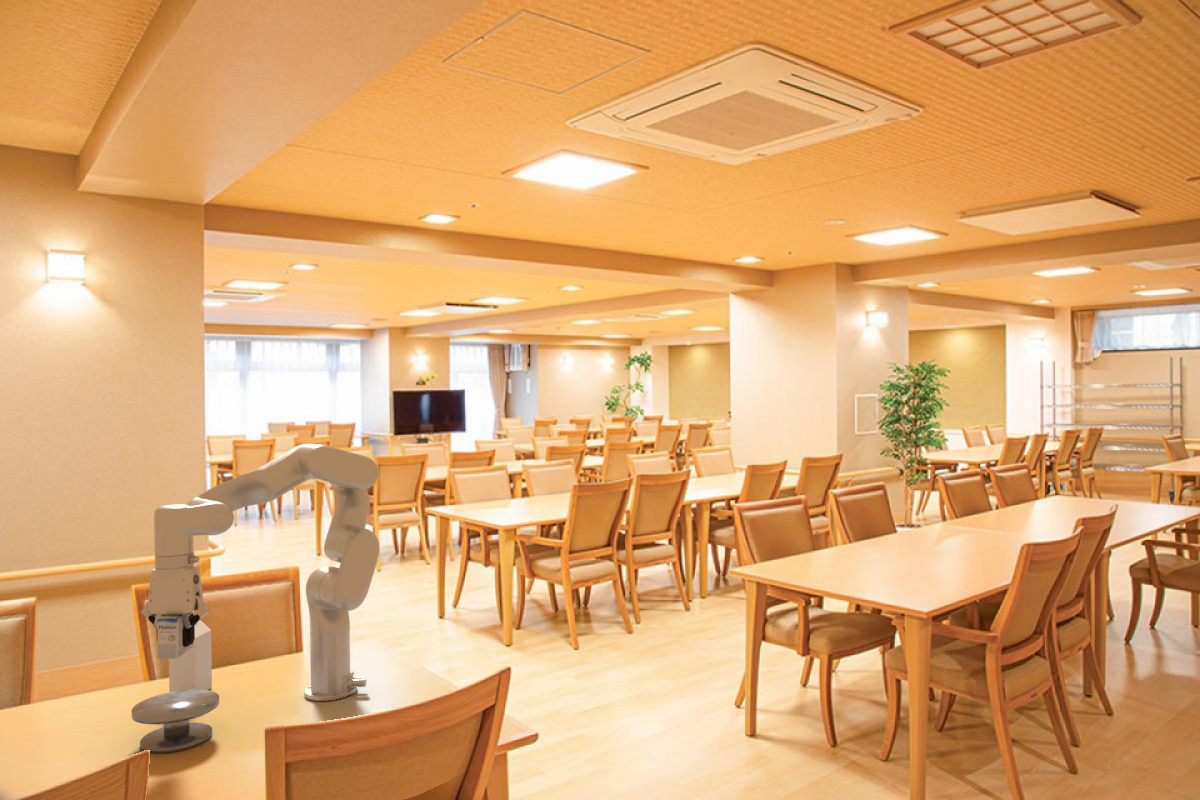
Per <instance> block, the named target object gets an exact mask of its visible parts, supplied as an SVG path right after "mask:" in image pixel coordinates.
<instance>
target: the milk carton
mask: <svg viewBox="0 0 1200 800" xmlns="http://www.w3.org/2000/svg"><path fill="white" fill-rule="evenodd" d="M194 626H195V639H194V642H193V647H192V648H190V649H189V650H188V651H186V652H185V653H184V654H182V655H181V656H180V657H179V658H171V659H168V684H169V685H168V686H169V687H168V688H169V689H168V691H169V692H174V691H181V690H192V689H202V690H210V689H212V687H213V682H212V681H213V675H212V674H213V673H212V669H213V666H212V661H213V660H212V659H213V658H212V629H211V628H209V626H208V625H207V624H205V623H204V622H203V621H202V619H200V620H199V621H198V622H197V624H196V625H194ZM169 692H168V693H169Z"/></svg>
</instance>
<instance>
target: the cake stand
mask: <svg viewBox="0 0 1200 800" xmlns="http://www.w3.org/2000/svg"><path fill="white" fill-rule="evenodd" d="M219 704H220V694H219V693H217V692H216V691H214V690H210V689H209V690H202V689H192V690H181V691H174V692H165V693H161V694H158V695H154V696H152V697H151V696H150V697H148V698H146V699H143V700H141V701H140V702H138V703H136V704H135V705H134V706H133V707H132V708H131V719H132V721H134V722H136V723H139V724H144V725H163V727H160V728H157V729H154V730H152V731H150V732H148V733H146V734H145V735H144V736H143V737H142V738H141V739H140V742H139V748H140V750H141V749H142V750H141V751H142V752H144V750H150V753H149V754H152V753H153V754H154V755H157V754H158V755H163V754H164V755H165V754H172V753H179V752H185V751H187V750H191V749H193V748H196V747H199V746H201V745H202V744H204V743H207V742H208V741H209V740H211V738H212V736H213V727H212V726H211V725H210V724H207V723H203V722H190V720H192V719H195V718H199V717H202V716H204V715H206V714H209V713H210V712H212V711H213V710H216V708H217V707H218V706H219ZM153 754H152V755H153Z"/></svg>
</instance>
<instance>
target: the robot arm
mask: <svg viewBox="0 0 1200 800" xmlns="http://www.w3.org/2000/svg"><path fill="white" fill-rule="evenodd" d="M379 473H380V472H379V467H378V465H377V464H376V462H375V461H374V460H373V459H372V458H370V457H368V456H366V455H362V454H358V453H354V452H351V451H346V450H343V449H340V448H337V447H334V446H330V445H326V444H316V443H303V444H300V445H297V446H295V447H292V448H291V449H290V450H287V451H285V452H284V453H283V454H281V455H278V456H277V457H275V458H273V459H271V460H270V461H268V462H267V463H265V464H263V465H261V466H259V467H257V468H255V469H253V470H251V471H248V472H246V473H243V474H240V475H238V476H236V477H233V478H231V479H229V480H226V481H224V482H220V483H219V484H217V485H215V486H212V487H211V488H209V489H208V490H206V491H204V492H202V493H200V494H198V495H196V496H195V497H193V498H191V499H190V500H189V501H187V502H186V504H180V503H176V504H166V505H162V506H161V505H160V506H158V507H157V508H155V510H154V513H153V522H154V523H153V525H154V527H153V529H154V530H153V531H154V533H153V534H154V535H153V536H154V537H153V541H154V568H153V569H152V571H151V574H150V579H149V586H148V601H147V603H146V604H145V606H144V607H143V608H142V610H141V612H140V613H141V615H142V616H144V617H145V618H147V619H148V621H149V622H150V623H151V624H152V625H153V628H154V629H155V630H157V620H158V619H159V618H161V617H162V616H164V615H182V617H183V621H184V624H185V628H184V629H183V646H184V647H187V646H189V645H191V644H192V643H193V642H194V639H195V626H194V625H196V624H197V622H198V621H199V620H202V618H203V617H205V615H207V614H208V613H210V608H209V607H208V606H207V605H206V603H204V596H203V595H204V594H203V585H202V584H203V583H202V578H201V574H200V570H199V567H198V565H195V563H199V561H200V557H199V556H198V555H195V551H194V537H195V536H217V535H221V534H224V533H225V532H227V531H228V530H230V528H231V527H232V526H233V523H234V521H235V515H234V512H235V511H237V510H240V509H243V508H246V507H250V506H256V505H262V504H266V503H269V502H272V501H275V500H277V499H279V498H281V497H282V496H284V495H285V494H287V493H289V492H290V491H292V490H293V489H295V488H296V487H299V486H300V485H302V484H303V483H306V482H307V481H309V480H312V479H313V480H319V481H324V482H327V483H329V484H330V486H331V488H332V490H333V492H334V494H335V507H334V511H333V515H332V519H331V521H330V525H329V528H328V531H327V534H326V537H325V540H324V544H323V552H324V554H325V556H326V557H327V558H328V559H329V560H331V561H333V562H337V563H340V564H339V567H335V566H320V567H318V568H317V569H315V570H314V571H312V572H311V574H310V575H309V576H308V578H307V581H306V584H305V595H306V601H307V607H308V613H309V641H310V642H309V643H310V644H309V646H310V647H309V649H310V650H309V651H310V652H309V653H310V654H309V655H310V656H309V658H310V659H309V661H310V662H309V663H310V685H308V686H307V687H306V688H305V689H304V693H303V694H304V695H303V696H304V697H305V698H306V699H308V700H309V701H317V702H327V701H329V700H330V701H336V699H337V700H340V698H341V699H344V698H347V697H349V696H348V695H350V694H351V695H353V694H354V693H355V692H356V691H357V690H356V689H358V688H366V686H367V679H366V677H365V676H356V675H355V671H354V670H351V648H350V647H351V645H350V643H351V640H350V639H351V637H350V635H351V633H350V628H351V626H350V624H351V623H350V615H349V613H350V612H351V611H354V610H356V609H357V608H359V607H361V605H362V604H363V603H364V601H365V599H366V598H367V595H368V593H369V590H370V587H371V583H372V580H373V577H374V574H375V570H376V566H377V563H378V560H379V559H378V558H379V554H380V542H379V538H378V537H377V535H376V534H375V532H373V531H372V530H370V529H369V528H366V526H367V521H368V517H369V513H370V508H371V500H370V495H369V491H368V489H370V488H372V487H373V486H374V485H375V484H376V483H377V481H378V478H379ZM195 611H198V613H195ZM156 642H157V643H158V635H157V634H156ZM351 695H350V696H351ZM346 696H347V697H346ZM343 697H344V698H343ZM330 701H329V702H330Z"/></svg>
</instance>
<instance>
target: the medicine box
mask: <svg viewBox="0 0 1200 800" xmlns="http://www.w3.org/2000/svg"><path fill="white" fill-rule="evenodd" d="M184 628H185V624H184V621H183V617H182V615H164V616H162V617H161V618H159V619H158V620H157V629H156V636H157V635H158V642H157V659H158V660H159V659H160V660H162V659H163V660H165V659H167V660H169V659H171V658H179V657H180V656H181V655H182V654H184V653H185V652H186V651H188V650H189V649H190V648H192V647H193V643H192V644H191V645H189V646H187V647H184V646H183V629H184Z"/></svg>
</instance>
